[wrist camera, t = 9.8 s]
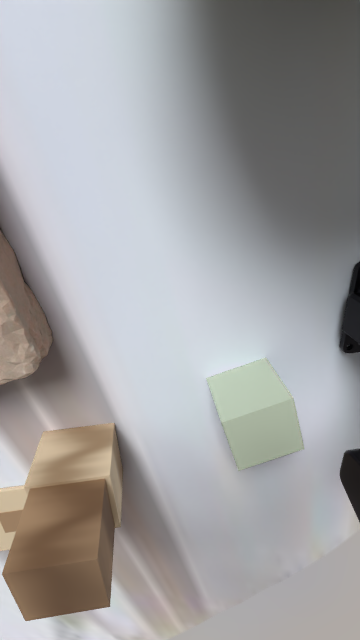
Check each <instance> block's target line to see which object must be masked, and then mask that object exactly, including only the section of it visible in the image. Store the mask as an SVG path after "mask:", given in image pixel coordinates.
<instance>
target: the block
mask: <svg viewBox="0 0 360 640" xmlns="http://www.w3.org/2000/svg"><path fill="white" fill-rule="evenodd" d="M206 379H207V382H208V385H209V388H210V390H211V393H212V396H213V399H214V402H215V405H216V408H217V411H218V414H219V417H220V420H221V423H222V426H223V429H224V432H225V434H226V437H227V440H228V443H229V445H230V448H231V451H232V454H233V456H234V459H235V462H236V465H237V467H238V470H239V471H240V470H243V469H246V468H249V467H252V466H255V465H258V464H261V463H264V462H267V461H270V460H273V459H276V458H279V457H282V456H285V455H288V454H291V453H294V452H297V451H300V450H303V449H304V445H303V441H302V436H301V431H300V427H299V422H298V417H297V413H296V408H295V403H294V399H293V397H292V395H291V394H290V392H289V391H288V389H287V388H286V386H285V385H284V384H283V382H282V381H281V379H280V378H279V376H278V375H277V373H276V372H275V370H274V369H273V367H272V366H271V364H270V363H269V361H268V360H267V359H266V358H263V359H260V360H257V361H254V362H252V363H249V364H246V365H243V366H240V367H237V368H234V369H231V370H228V371H226V372H223V373H220V374H217V375H214V376H211V377H208V378H206Z"/></svg>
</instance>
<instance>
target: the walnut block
mask: <svg viewBox="0 0 360 640" xmlns="http://www.w3.org/2000/svg"><path fill="white" fill-rule="evenodd" d="M114 529H115V523H114V518H113V513H112V509H111V504H110V499H109V494H108V490H107V485H106V480H105V479H98V480H90V481H83V482H75V483H68V484H61V485H53V486H46V487H39V488H31V489H30V490H29V493H28V496H27V499H26V502H25V505H24V508H23V511H22V514H21V518H20V521H19V524H18V527H17V530H16V533H15V536H14V539H13V542H12V545H11V548H10V551H9V554H8V557H7V560H6V563H5V566H4V569H3V573H2V575H3V577H4V579H5V581H6V583H7V585H8V587H9V589H10V591H11V593H12V595H13V597H14V599H15V601H16V603H17V605H18V607H19V609H20V611H21V613H22V615H23V617H24V619H25V621H29V620H35V619H41V618H47V617H53V616H58V615H64V614H70V613H76V612H82V611H88V610H94V609H99V608H105V607H110V598H111V581H112V564H113V546H114Z"/></svg>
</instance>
